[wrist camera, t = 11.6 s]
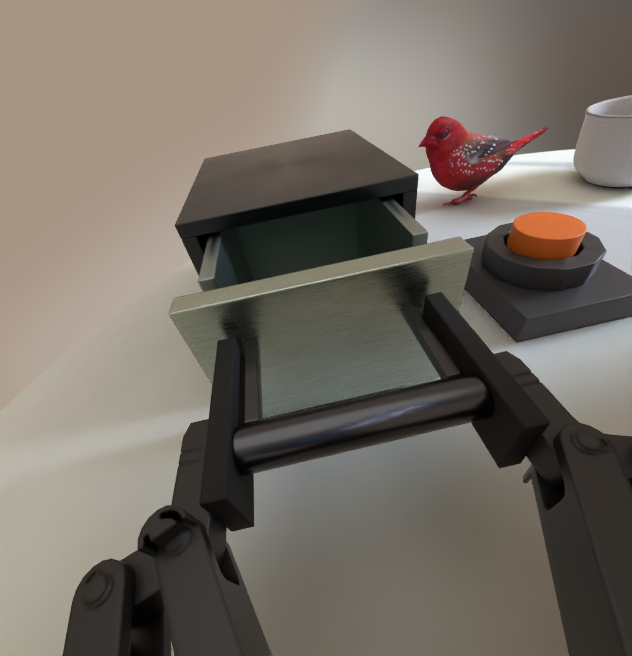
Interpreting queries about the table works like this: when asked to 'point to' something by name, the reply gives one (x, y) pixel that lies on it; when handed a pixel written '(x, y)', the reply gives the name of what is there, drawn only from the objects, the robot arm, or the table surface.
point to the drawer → (332, 331)
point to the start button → (546, 235)
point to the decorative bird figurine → (466, 155)
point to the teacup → (606, 144)
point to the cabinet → (289, 185)
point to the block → (546, 286)
